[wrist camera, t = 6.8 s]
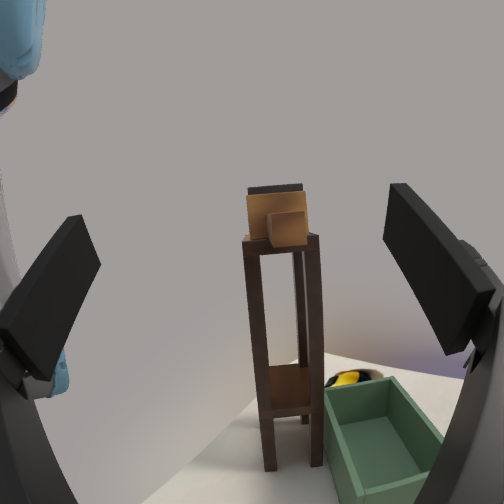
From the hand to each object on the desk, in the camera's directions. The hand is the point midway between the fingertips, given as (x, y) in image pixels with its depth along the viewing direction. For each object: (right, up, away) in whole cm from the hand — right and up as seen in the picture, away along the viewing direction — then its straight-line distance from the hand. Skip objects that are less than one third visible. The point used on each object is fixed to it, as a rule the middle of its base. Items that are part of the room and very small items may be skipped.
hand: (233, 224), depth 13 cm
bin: (+17, -29, +20) cm, 39 cm away
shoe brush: (+4, 0, +18) cm, 18 cm away
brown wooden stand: (+6, -29, +28) cm, 40 cm away
